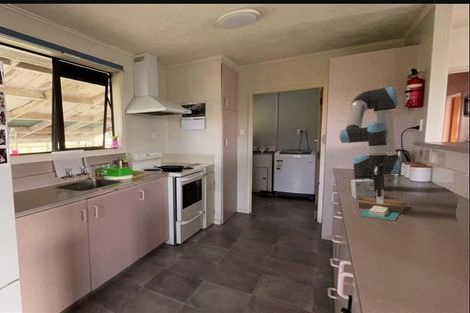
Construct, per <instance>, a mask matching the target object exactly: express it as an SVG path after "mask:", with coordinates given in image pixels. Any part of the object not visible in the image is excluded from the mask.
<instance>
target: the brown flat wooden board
mask: <svg viewBox="0 0 470 313" xmlns="http://www.w3.org/2000/svg"><path fill="white" fill-rule="evenodd" d="M406 204H407V203H406V200H403V199H402V200H399V199H392V198H391V199H389V198H384V203H383V204H381V203H377V198H376V197H375V198H369V197H365V198H364V199H360V201H358V209H364V210H365V209H371V208H372V207H373V206H382V207H388V209H389V211H390V212H398V213H400V214H402V213H403V212H404V210H405V208H406V207H407V206H406Z"/></svg>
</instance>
